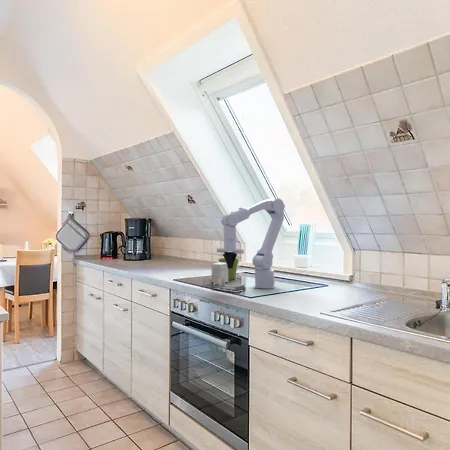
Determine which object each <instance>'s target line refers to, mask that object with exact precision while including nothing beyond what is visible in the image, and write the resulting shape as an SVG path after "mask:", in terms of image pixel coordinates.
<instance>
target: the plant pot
mask: <svg viewBox="0 0 450 450" xmlns="http://www.w3.org/2000/svg"><path fill="white" fill-rule="evenodd" d="M217 260H218V262H222V263H226V260H225V258H224V257H222V258H217ZM239 261H240V258H238V257H236V258H235V261H234V264H233V268H231V269H228V281H233V279H234V280H236V278H237V271H238V264H239Z"/></svg>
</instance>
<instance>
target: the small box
mask: <svg viewBox="0 0 450 450" xmlns="http://www.w3.org/2000/svg"><path fill="white" fill-rule="evenodd" d="M223 277H224V278H225V282H228V283H229V280H228V267H227V263H222V262H219V261H218V262H215V263H211V283H212V282H213V283H218V278H223Z"/></svg>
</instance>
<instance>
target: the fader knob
mask: <svg viewBox="0 0 450 450" xmlns="http://www.w3.org/2000/svg"><path fill="white" fill-rule="evenodd" d="M224 285H226V283H225V278H224V277H223V278H218V286H224Z"/></svg>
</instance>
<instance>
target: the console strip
mask: <svg viewBox="0 0 450 450" xmlns="http://www.w3.org/2000/svg"><path fill="white" fill-rule="evenodd" d="M212 288H220V289H226V290H232V291H239V290H245V291H247V289H246V286H245V284H239V285H231V284H225V285H224V286H218V283H215V284H212V286H211V289H212Z"/></svg>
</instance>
